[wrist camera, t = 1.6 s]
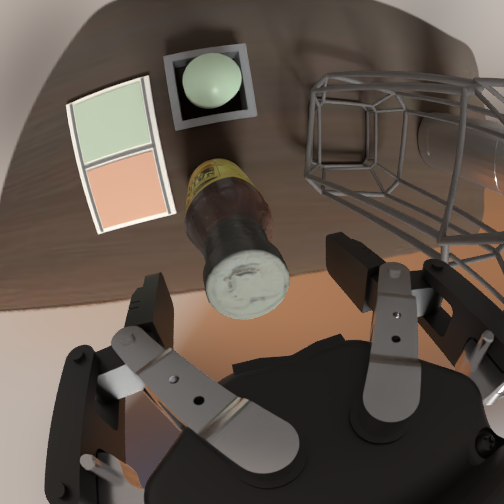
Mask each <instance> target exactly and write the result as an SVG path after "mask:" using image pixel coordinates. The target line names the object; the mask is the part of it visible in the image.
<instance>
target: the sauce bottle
mask: <svg viewBox="0 0 504 504" xmlns="http://www.w3.org/2000/svg"><path fill="white" fill-rule="evenodd" d="M185 230H186V233H187V236H188V238H189V239H190V241H191V242H192V243H193V244H194V245H195V247H196V248H197V249H198V250H199V251H200V252H201V254H202V255H203V256H204V258H205V260H206V264H205V266H204V270H203V281H204V285H205V291H206V295H207V298H208V301H209V303H210V304H211V305H212V306H213V307H214V308H215V309H216V310H217V311H218V312H220V313H221V314H223V315H225V316H227V317H230V318H234V319H251V318H256V317H259V316H261V315H264V314H267V313H268V312H270V311H271V310H273V309H274V308H275V307H277V306H278V304H279V303H280V302H281V301H282V300H283V299H284V297H285V295H286V292H287V289H288V287H289V283H290V275H289V271H288V268H287V266H286V264H285V261H284V260H283V258H282V255H281V254H280V252H279V250H278V249H277V248H276V247H275V246H274V245H273V244H272V243H270V241H271V239H272V234H273V219H272V215H271V212H270V209H269V207H268V204H267V203H266V202H265V201H264V199H263V197H262V195H261V193H260V192H259V191H258V189H257V188H256V187H255V186H254V184H253V183H252V182H251V181H250V180H249V178H248V177H247V176H246V175H245V173H244V172H243V171H242V170H241V169H240V168H239V167H238V166H237V165H236V164H235V163H233V162H231V161H229V160H226V159H221V158H216V159H211V160H207V161H205V162H203V163H202V164H201V165H199V166H198V167H197V168H196V169H195V171H194V172H193V174H192V175H191V178H190V180H189V185H188V194H187V201H186V213H185Z"/></svg>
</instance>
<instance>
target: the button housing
mask: <svg viewBox="0 0 504 504" xmlns="http://www.w3.org/2000/svg"><path fill="white" fill-rule="evenodd" d="M208 53H219V54H223V55H225V56H228V57H229V58H231V59H234V62H235V63H236V64H237V65H238V67H239V69H240V71H241V77H242V80H241V85H240V88H239V93H240V99H241V105H242V110H241V111H234V112H227V113H221V114H216V115H210V116H205V117H200V118H195V119H190V120H185V121H183V116H182V110H181V105H180V99H179V93H178V87H177V80H176V74H175V68H178V67H183V66H188V64H189V63H190V62H191V61H192V60H194V59H195V58H197V57H199V56H201V55H204V54H208ZM163 58H164V65H165V72H166V79H167V85H168V91H169V97H170V103H171V109H172V115H173V120H174V126H175V131H178V130H183V129H187V128H192V127H197V126H202V125H207V124H212V123H217V122H223V121H229V120H235V119H242V118H249V117H255V116H257V111H256V105H255V98H254V92H253V86H252V79H251V73H250V67H249V61H248V55H247V49H246V44H234V45H225V46H217V47H210V48H203V49H197V50H192V51H186V52H181V53H176V54H172V55H167V56H163Z"/></svg>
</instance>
